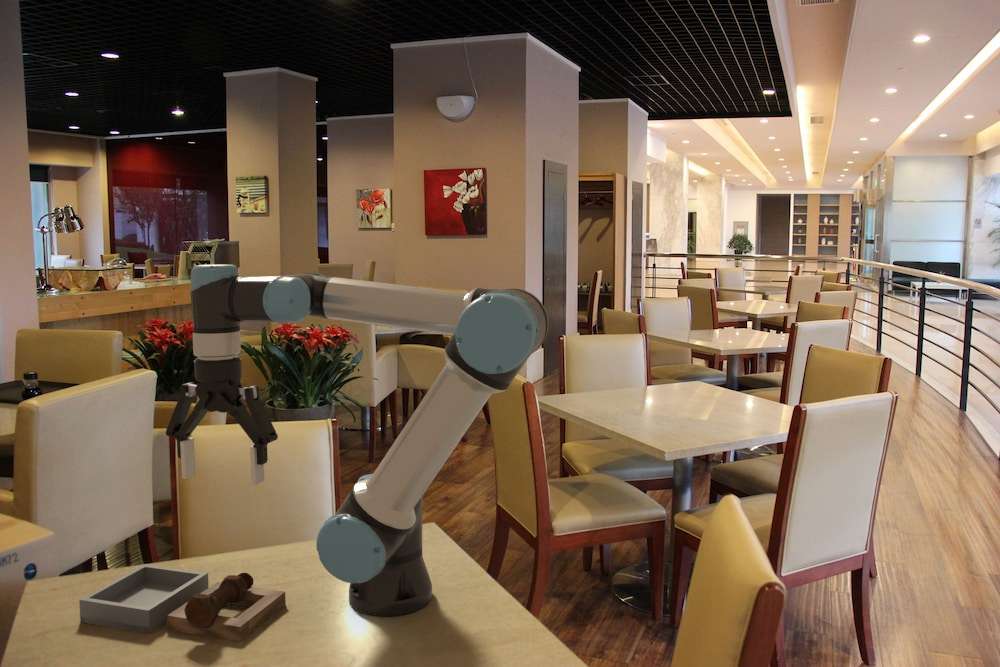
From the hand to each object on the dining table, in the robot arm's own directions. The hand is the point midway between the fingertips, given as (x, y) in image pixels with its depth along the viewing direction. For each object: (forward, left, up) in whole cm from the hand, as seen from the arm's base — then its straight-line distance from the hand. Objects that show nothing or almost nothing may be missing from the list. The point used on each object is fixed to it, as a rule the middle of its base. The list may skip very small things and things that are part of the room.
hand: (223, 479), depth 139 cm
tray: (+16, +1, -25) cm, 29 cm away
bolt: (0, +2, -17) cm, 17 cm away
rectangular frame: (0, 0, -24) cm, 25 cm away
